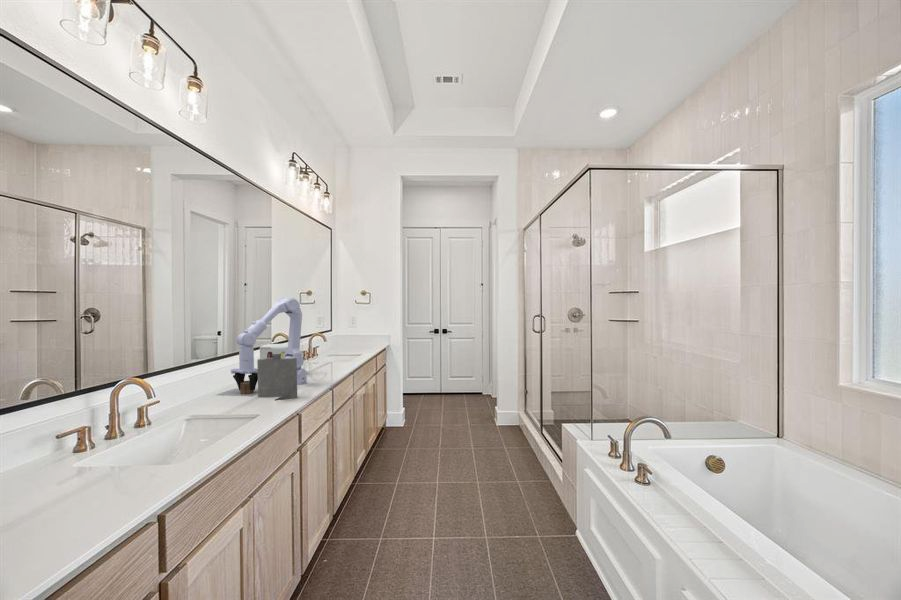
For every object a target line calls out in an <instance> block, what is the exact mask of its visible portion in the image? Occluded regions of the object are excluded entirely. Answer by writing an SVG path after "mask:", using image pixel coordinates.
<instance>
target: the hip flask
mask: <svg viewBox="0 0 901 600" xmlns="http://www.w3.org/2000/svg"><path fill="white" fill-rule="evenodd" d="M280 355H281V353H273V354H272V356H273V358H265V359H260V358H259V359H257V361H256V362H257V363H256V365H257V369H258V381H257V389H258V394H257V397H258V398H276V397H277V398H276V399H274V401H282V400H283V401H284V400H286V401H287V400H293V399H294V400H295V399H297V398H298V385H297V358H281V356H280Z"/></svg>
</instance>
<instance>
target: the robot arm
mask: <svg viewBox="0 0 901 600" xmlns="http://www.w3.org/2000/svg"><path fill="white" fill-rule="evenodd" d="M300 306H301V303H300V302H299V300H297V299H296V298H294V297H290V298H284V297H283V298H279V299H278V300H277V301H276V302H275V303H274V304H273V305H272V307H270V309H268V311H267V312H266V313H265V314H264V315H263V316H262V317H261V319H257V320H254V321H252V322H251V325H250V326H249V327H247V329H245V330H244V332H242V333H239V335H238V336H237V337H236V340H235V341H236V344H238V352H239V353H238V354H239V355H238V359H239V361H238V362H239V365H238V368H232V369H230V374H231V375H232V374H233V375H232V378H233V379H234V380H235V382H236V384H237V389H239V390H240V382H242V381H245V377H246V375H248V374H249V375H248V376H247V377H248V381H250V389H251V390H255V389H256V388H257V385H258V368H255V357H254V356H255V355H254V349H255V348H254V344H256V342H257V338H259V336H261V335H262V334H263V332H265V330H266V329H267V325H268V324H269V323H270V322H271V321H272V320H273V319H274V318H276V316H278V315H279V314H282V313H284V314H286V315H287V316H288V317H289V327H288V329H289V330H288V340H287V344H288V349H287V350H286V351H285V355H284V357H283V358H297V386H301V385H304V384H305V385H306V384H308V383H307V382H308V381H307V377H308V376H307V375H308V373H307V370H306V369H305V368H302V367H303V365H304V364H305V363H304V362H305V361H304V357H303V352H302V351H301V349H300V347H301V334H302V333H301V332H302V323H303V311H302V310H301V307H300Z"/></svg>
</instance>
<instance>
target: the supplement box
mask: <svg viewBox="0 0 901 600" xmlns="http://www.w3.org/2000/svg"><path fill="white" fill-rule="evenodd" d="M287 349H288V343H268V344H264V345H261V346H259V359H265V358H273V356H272V354H273V353H281V355H280V356H281V358H283V357H284V355H285V351H286V350H287Z"/></svg>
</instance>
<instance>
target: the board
mask: <svg viewBox="0 0 901 600" xmlns="http://www.w3.org/2000/svg"><path fill="white" fill-rule="evenodd" d="M256 395H258V388H255V390H254V393H251V394H240V390H239V388H233V389H229V390H226V391H223V392H221V393H220V392H219V393H217V394H216V396H231V397H233V396H234V397H253V396H256Z"/></svg>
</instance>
